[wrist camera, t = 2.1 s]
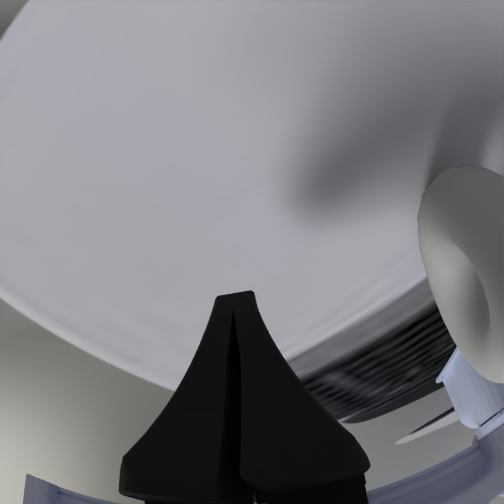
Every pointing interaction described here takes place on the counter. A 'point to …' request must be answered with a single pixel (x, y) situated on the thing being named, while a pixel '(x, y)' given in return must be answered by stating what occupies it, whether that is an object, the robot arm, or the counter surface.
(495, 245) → the donut
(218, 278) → the counter surface
